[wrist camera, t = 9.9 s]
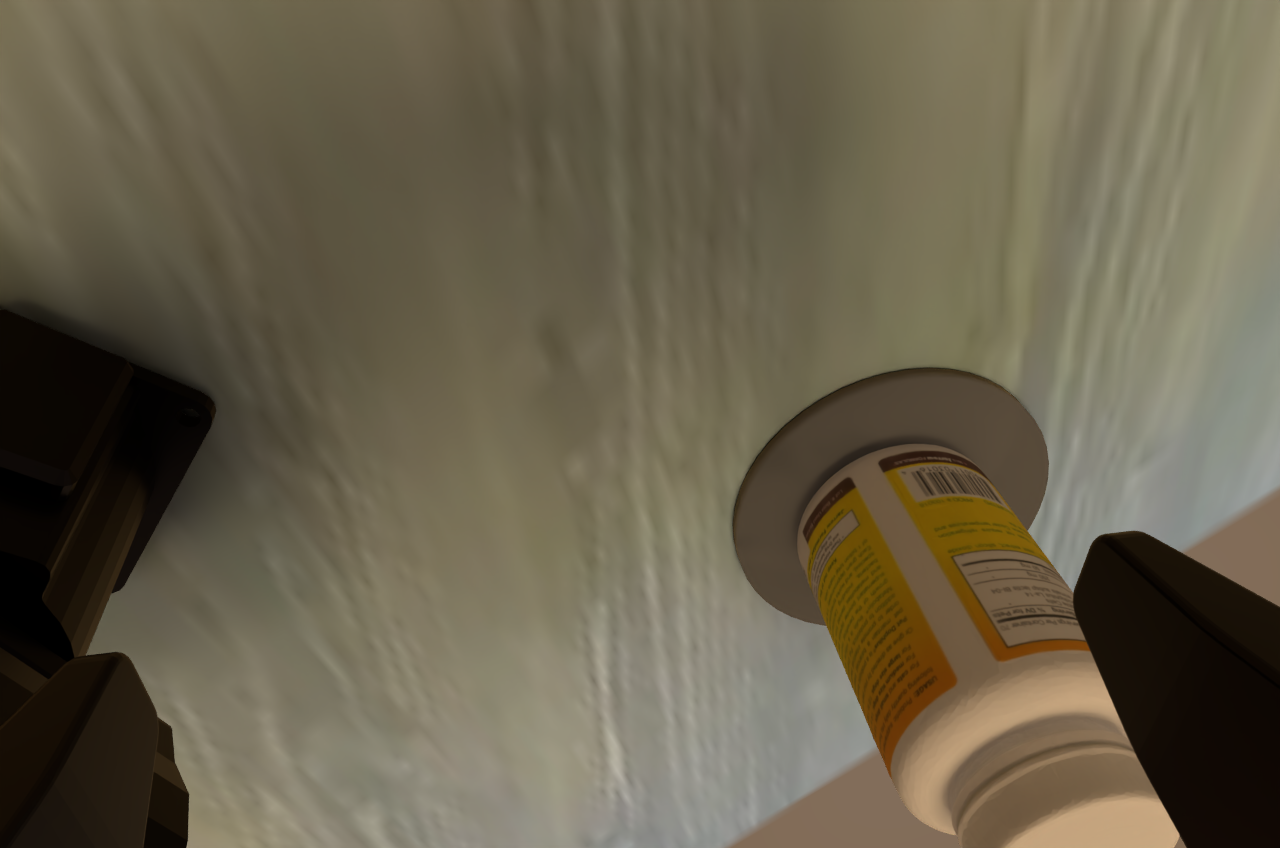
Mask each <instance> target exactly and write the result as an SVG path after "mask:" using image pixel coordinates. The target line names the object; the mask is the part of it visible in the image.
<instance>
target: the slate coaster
mask: <svg viewBox="0 0 1280 848" xmlns="http://www.w3.org/2000/svg"><path fill="white" fill-rule="evenodd" d="M905 444H929V445H937V446H941V447H945V448H948V449H951V450H954V451H956V452H958V453H960V454H962V455H964V456H965V457H967V458H968V459H970V460H971V461H972V462H973V463H975V464H976V465H977V466H978V467H979V468H980V469H981V471H982V472H983V473H984V474H985V475H986V476H987V477H988V479H989V480H990V481H991V482H992V484H993V485H994V487H995V488H996V490H997V491H998V492H999V494H1000V495H1001V496H1002V498H1003V499H1004V500H1005V502H1006V503H1007V504H1008V506H1009V507H1010V508H1011V510H1012V511H1013V512H1014V514H1015V515H1016V516H1017V518H1018V519H1019V521H1020V522H1021V523H1022V525H1023V526H1024V527H1025V529H1026V530H1027V531H1028V529H1029V528H1030V526H1031V524H1032V522H1033V520H1034V519H1035V517H1036V515H1037V513H1038V511H1039V508H1040V506H1041V503H1042V500H1043V497H1044V495H1045V490H1046V485H1047V480H1048V467H1049V461H1048V453H1047V447H1046V444H1045V441H1044V438H1043V435H1042V432H1041V430H1040V429H1039V427H1038V425H1037V423H1036V422H1035V420H1034V419H1033V417H1032V416H1031V415H1030V414H1029V413H1028V412H1027V411H1026V409H1025V408H1024V407H1023V406H1022V405H1021V404H1020V402H1019V401H1018V400H1017V399H1016V398H1015V397H1014V396H1013V395H1011V394H1010V393H1009V392H1008V391H1006V390H1005V389H1004V388H1003V387H1001V386H999V385H997V384H995V383H993V382H992V381H990V380H988V379H985V378H983V377H980V376H977V375H974V374H971V373H967V372H962V371H957V370H952V369H937V368H923V369H908V370H902V371H897V372H891V373H886V374H882V375H879V376H875V377H872V378H868V379H865V380H862V381H860V382H857V383H855V384H852V385H850V386H847V387H845V388H842V389H840V390H838V391H837V392H835V393H833V394H831V395H829V396H827V397H825V398H823V399H821V400H820V401H818V402H817V403H815V404H814V405H812V406H811V407H809V408H808V409H806V410H805V411H803V412H802V413H801V414H799V415H798V416H797V417H796V418H794V419H793V420H792V421H791V422H790V423H788V424H787V425H786V426H785V427H784V428H783V429H782V430H781V431H780V432H779V433H778V434H777V435H776V436H775V437H774V438H773V439H772V440H771V441H770V442H769V443H768V444H767V446H766V447H765V448H764V450H763V451H762V452H761V453H760V455H759V456H758V457H757V459H756V460H755V462H754V464H753V465H752V467H751V468H750V470H749V472H748V473H747V475H746V478H745V480H744V482H743V484H742V487H741V489H740V491H739V495H738V498H737V502H736V505H735V510H734V519H733V535H734V543H735V547H736V551H737V555H738V558H739V560H740V563H741V566H742V568H743V571H744V573H745V575H746V577H747V579H748V581H749V582H750V584H751V585H752V587H753V588H754V589H755V591H756V592H757V593H758V594H759V595H760V596H761V597H762V598H763V599H764V600H765V601H766V602H768V603H769V604H770V605H772V606H773V607H775V608H776V609H777V610H779V611H781V612H783V613H785V614H787V615H789V616H791V617H794V618H797V619H800V620H803V621H806V622H810V623H815V624H819V625H826V623H825V621H824V619H823V616H822V614H821V612H820V609H819V607H818V605H817V602H816V600H815V598H814V595H813V593H812V591H811V588H810V586H809V583H808V581H807V579H806V576H805V574H804V571H803V569H802V566H801V563H800V560H799V555H798V548H797V538H798V530H799V525H800V522H801V519H802V516H803V514H804V511H805V509H806V507H807V506H808V504H809V502H810V501H811V499H812V498H813V496H814V495H815V494H816V492H817V491H818V490H819V489H820V488H821V486H822V485H823V484H824V483H825V482H826V481H827V480H828V479H829V478H831V477H832V476H833V475H834V474H835V473H837V472H838V471H839V470H841V469H842V468H843V467H845V466H846V465H848V464H850V463H851V462H853V461H855V460H857V459H859V458H861V457H863V456H865V455H867V454H869V453H872V452H875V451H878V450H880V449H884V448H888V447H893V446H898V445H905Z"/></svg>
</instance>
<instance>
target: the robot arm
mask: <svg viewBox="0 0 1280 848" xmlns="http://www.w3.org/2000/svg"><path fill="white" fill-rule="evenodd" d="M184 408H188V409H193V410H194V411H196V412H198V414H199V415H200V416H198V417H190V416H187V415H185V414H184V413H183V412H182V411H181V409H184ZM215 413H216V407H215V404H214V402H213V401H212V400H211V398H210V397H209V396H207V395H206V394H204V393H202V392H201V391H198V390H196V389H193V388H191V387H189V386H186V385H184V384H181V383H179V382H176V381H174V380H171V379H169V378H166V377H164V376H162V375H159V374H157V373H154V372H152V371H149V370H147V369H144V368H142V367H140V366H137V365H135V364H132V363H130V362H127V360H126V359H124V358H122V357H120V356H117V355H115V354H112V353H110V352H107V351H105V350H103V349H100V348H98V347H95V346H93V345H90V344H88V343H85V342H83V341H81V340H78V339H76V338H73V337H71V336H68V335H66V334H63V333H61V332H59V331H56V330H54V329H51V328H49V327H46V326H44V325H41V324H39V323H37V322H34V321H32V320H29V319H27V318H24V317H22V316H19V315H17V314H15V313H12V312H10V311H7V310H0V848H186V846H187V841H188V812H189V793H188V791H187V789H186V786H185V784H184V782H183V780H182V777H181V775H180V773H179V770H178V768H177V766H176V764H175V759H174V747H173V736H172V728H171V726H169V725H168V724H167V723H165V722H164V721H162V720H161V719H159V718H158V717H157V713H156V710H155V707H154V705H153V703H152V701H151V699H150V697H149V695H148V693H147V691H146V689H145V687H144V685H143V683H142V681H141V679H140V677H139V675H138V673H137V671H136V669H135V667H134V665H133V663H132V661H131V660H130V658H129V657H128V656H126V655H125V654H123V653H119V652H112V653H103V654H95V655H87V656H86V653H87V651H88V648H89V646H90V643H91V641H92V638H93V636H94V634H95V631H96V629H97V626H98V624H99V621H100V619H101V617H102V614H103V612H104V609H105V607H106V604H107V602H108V600H109V597H110V595H111V593H114V592H117V591H119V590H120V589H121V588H122V587H123V586H124V585H125V583H126V581H127V579H128V578H129V576H130V574H131V572H132V570H133V568H134V567H135V565H136V563H137V561H138V559H139V557H140V556H141V554H142V552H143V550H144V548H145V546H146V545H147V543H148V541H149V539H150V537H151V535H152V534H153V532H154V530H155V528H156V526H157V524H158V523H159V521H160V519H161V517H162V515H163V513H164V512H165V510H166V508H167V506H168V504H169V503H170V501H171V499H172V497H173V495H174V493H175V492H176V490H177V488H178V486H179V484H180V482H181V481H182V479H183V477H184V475H185V473H186V471H187V470H188V468H189V466H190V464H191V462H192V460H193V459H194V457H195V455H196V453H197V451H198V449H199V448H200V446H201V444H202V442H203V440H204V438H205V437H206V435H207V433H208V431H209V429H210V427H211V425H212V422H213V420H214V417H215ZM1073 608H1074V613H1075V616H1076V619H1077V621H1078V624H1079V626H1080V628H1081V631H1082V633H1083V635H1084V638H1085V640H1086V642H1087V645H1088V647H1089V649H1090V652H1091V654H1092V656H1093V659H1094V661H1095V663H1096V666H1097V668H1098V670H1099V673H1100V675H1101V677H1102V680H1103V682H1104V684H1105V687H1106V689H1107V691H1108V693H1109V696H1110V698H1111V700H1112V703H1113V705H1114V707H1115V710H1116V712H1117V714H1118V717H1119V719H1120V721H1121V724H1122V726H1123V728H1124V731H1125V733H1126V735H1127V737H1128V739H1129V742H1130V744H1131V746H1132V748H1133V750H1134V752H1135V754H1136V756H1137V758H1138V760H1139V762H1140V764H1141V766H1142V768H1143V770H1144V772H1145V774H1146V775H1147V777H1148V779H1149V781H1150V783H1151V785H1152V786H1153V788H1154V790H1155V792H1156V794H1157V795H1158V797H1159V799H1160V801H1161V803H1162V804H1163V806H1164V808H1165V810H1166V812H1167V813H1168V815H1169V817H1170V819H1171V821H1172V822H1173V824H1174V826H1175V828H1176V830H1177V831H1178V833H1179V835H1180V837H1181V839H1182V840H1183V842H1184V844H1185V846H1186V847H1187V848H1280V607H1279V606H1277V605H1275V604H1274V603H1272V602H1270V601H1268V600H1266V599H1264V598H1263V597H1261V596H1259V595H1257V594H1256V593H1254V592H1252V591H1250V590H1248V589H1246V588H1245V587H1242V586H1241V585H1239V584H1237V583H1236V582H1234V581H1232V580H1230V579H1228V578H1226V577H1225V576H1223V575H1221V574H1219V573H1217V572H1216V571H1214V570H1212V569H1210V568H1208V567H1206V566H1205V565H1203V564H1201V563H1199V562H1197V561H1195V560H1194V559H1192V558H1190V557H1188V556H1186V555H1185V554H1183V553H1181V552H1179V551H1177V550H1176V549H1174V548H1172V547H1170V546H1168V545H1167V544H1165V543H1163V542H1161V541H1159V540H1157V539H1156V538H1154V537H1152V536H1150V535H1148V534H1146V533H1144V532H1140V531H1126V532H1118V533H1109V534H1103V535H1100V536H1098V537H1097V538H1096V539H1095V540H1094V541H1093V542H1092V544H1091V546H1090V549H1089V552H1088V554H1087V557H1086V560H1085V562H1084V565H1083V568H1082V570H1081V573H1080V576H1079V578H1078V581H1077V584H1076V586H1075V589H1074V593H1073Z"/></svg>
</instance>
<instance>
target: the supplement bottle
mask: <svg viewBox="0 0 1280 848" xmlns="http://www.w3.org/2000/svg"><path fill="white" fill-rule="evenodd" d="M797 548H798V555H799V560H800V563H801V566H802V569H803V571H804V574H805V576H806V579H807V581H808V583H809V586H810V588H811V591H812V593H813V595H814V598H815V600H816V602H817V605H818V607H819V609H820V612H821V614H822V616H823V619H824V621H825V623H826V626H827V628H828V631H829V633H830V635H831V638H832V640H833V642H834V645H835V647H836V649H837V652H838V654H839V657H840V659H841V661H842V664H843V666H844V668H845V671H846V674H847V675H848V678H849V680H850V682H851V685H852V688H853V690H854V693H855V695H856V697H857V699H858V702H859V704H860V706H861V709H862V711H863V713H864V716H865V719H866V721H867V723H868V725H869V728H870V731H871V733H872V735H873V738H874V740H875V742H876V745H877V747H878V749H879V751H880V754H881V756H882V758H883V760H884V763H885V765H886V768H887V770H888V773H889V775H890V777H891V779H892V781H893V783H894V786H895V788H896V790H897V791H898V794H899V796H900V798H901V800H902V802H903V803H904V804H905V806H906V807H907V809H908V810H909V811H910V812H911V813H912V814H913V815H914V816H915V817H917V818H918V819H919V820H920V821H922V822H923V823H925V824H926V825H928V826H930V827H932V828H934V829H936V830H939V831H942V832H945V833H948V834H952V835H957V836H958V841H959V845H960V847H961V848H1174V846H1175V845H1176V843H1177V841H1178V838H1179V833H1178V831H1177V830H1176V828H1175V826H1174V824H1173V822H1172V821H1171V819H1170V817H1169V815H1168V813H1167V812H1166V810H1165V808H1164V806H1163V804H1162V803H1161V801H1160V799H1159V797H1158V795H1157V794H1156V792H1155V790H1154V788H1153V786H1152V785H1151V783H1150V781H1149V779H1148V777H1147V775H1146V774H1145V772H1144V770H1143V768H1142V766H1141V764H1140V762H1139V760H1138V758H1137V756H1136V754H1135V752H1134V750H1133V748H1132V746H1131V744H1130V742H1129V739H1128V737H1127V735H1126V733H1125V731H1124V728H1123V726H1122V724H1121V721H1120V719H1119V717H1118V714H1117V712H1116V710H1115V707H1114V705H1113V703H1112V700H1111V698H1110V696H1109V693H1108V691H1107V689H1106V687H1105V684H1104V682H1103V680H1102V677H1101V675H1100V673H1099V670H1098V668H1097V666H1096V663H1095V661H1094V659H1093V656H1092V654H1091V652H1090V649H1089V647H1088V645H1087V642H1086V640H1085V638H1084V635H1083V633H1082V631H1081V628H1080V626H1079V624H1078V621H1077V619H1076V616H1075V613H1074V608H1073V592H1072V591H1071V589H1070V588H1069V587H1068V585H1067V584H1066V583H1065V581H1064V580H1063V578H1062V577H1061V576H1060V574H1059V573H1058V572H1057V570H1056V569H1055V568H1054V566H1053V565H1052V564H1051V562H1050V561H1049V560H1048V558H1047V557H1046V556H1045V554H1044V553H1043V552H1042V550H1041V549H1040V548H1039V546H1038V545H1037V543H1036V542H1035V541H1034V539H1033V538H1032V537H1031V535H1030V534H1029V533H1028V531H1027V530H1026V529H1025V527H1024V526H1023V525H1022V523H1021V522H1020V521H1019V519H1018V518H1017V516H1016V515H1015V514H1014V512H1013V511H1012V510H1011V508H1010V507H1009V506H1008V504H1007V503H1006V502H1005V500H1004V499H1003V498H1002V496H1001V495H1000V494H999V492H998V491H997V490H996V488H995V487H994V485H993V484H992V482H991V481H990V480H989V479H988V477H987V476H986V475H985V474H984V473H983V472H982V471H981V469H980V468H979V467H978V466H977V465H976V464H975V463H973V462H972V461H971V460H970V459H968V458H967V457H965V456H964V455H962V454H960V453H958V452H956V451H954V450H951V449H948V448H945V447H941V446H937V445H929V444H905V445H898V446H893V447H888V448H884V449H880V450H878V451H875V452H872V453H869V454H867V455H865V456H863V457H861V458H859V459H857V460H855V461H853V462H851V463H850V464H848V465H846V466H845V467H843V468H842V469H841V470H839V471H838V472H837V473H835V474H834V475H833V476H832V477H831V478H829V479H828V480H827V481H826V482H825V483H824V484H823V485H822V486H821V488H820V489H819V490H818V491H817V492H816V494H815V495H814V496H813V498H812V499H811V501H810V502H809V504H808V506H807V507H806V509H805V511H804V514H803V516H802V519H801V522H800V525H799V530H798V538H797Z"/></svg>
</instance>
